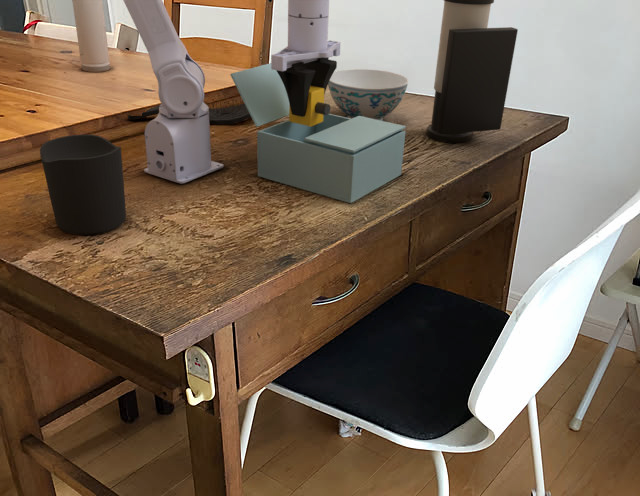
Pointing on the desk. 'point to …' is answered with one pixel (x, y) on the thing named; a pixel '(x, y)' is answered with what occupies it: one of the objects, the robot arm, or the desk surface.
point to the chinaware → (367, 92)
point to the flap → (262, 93)
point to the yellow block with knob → (312, 108)
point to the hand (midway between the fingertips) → (305, 112)
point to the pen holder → (85, 183)
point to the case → (332, 155)
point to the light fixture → (470, 72)
